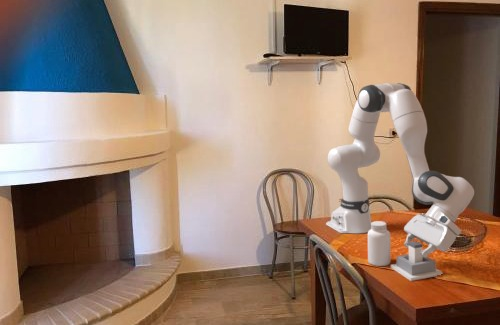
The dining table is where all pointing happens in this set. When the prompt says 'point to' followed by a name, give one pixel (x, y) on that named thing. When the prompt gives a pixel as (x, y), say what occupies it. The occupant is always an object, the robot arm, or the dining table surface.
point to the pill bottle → (379, 244)
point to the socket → (416, 268)
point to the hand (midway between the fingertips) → (413, 251)
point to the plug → (415, 252)
